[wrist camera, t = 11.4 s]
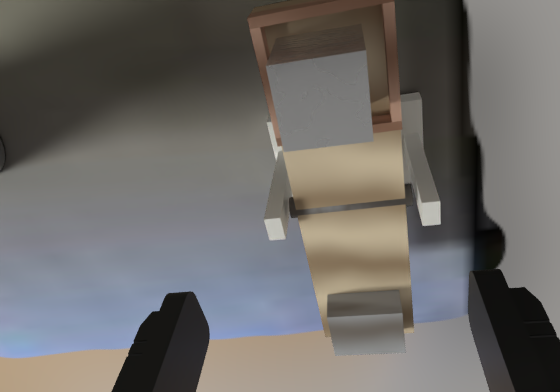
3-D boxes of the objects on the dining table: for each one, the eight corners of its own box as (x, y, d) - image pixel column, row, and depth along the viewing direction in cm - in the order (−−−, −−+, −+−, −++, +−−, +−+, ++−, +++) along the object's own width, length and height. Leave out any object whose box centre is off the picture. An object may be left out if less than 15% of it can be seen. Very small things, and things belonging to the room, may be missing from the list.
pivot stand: (422, 172, 42) (446, 255, 33) (286, 188, 45) (273, 269, 35) (418, 92, 38) (446, 162, 28) (268, 114, 40) (248, 185, 31)
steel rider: (290, 114, 30) (283, 151, 25) (276, 37, 27) (265, 65, 23) (368, 104, 29) (373, 141, 25) (361, 23, 26) (366, 50, 22)
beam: (417, 318, 42) (424, 356, 38) (320, 324, 43) (319, 360, 40) (397, -22, 26) (406, -8, 22) (246, 8, 28) (234, 26, 24)
